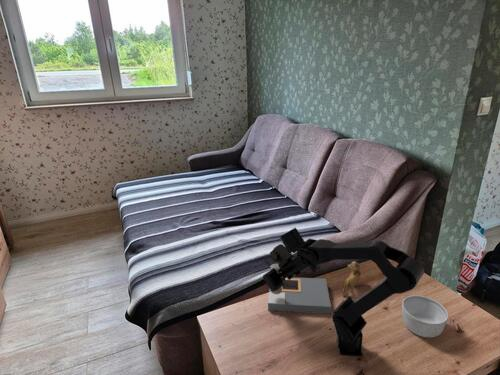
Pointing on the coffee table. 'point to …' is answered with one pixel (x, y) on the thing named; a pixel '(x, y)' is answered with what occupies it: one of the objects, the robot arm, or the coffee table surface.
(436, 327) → the ramekin
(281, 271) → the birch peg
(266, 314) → the coffee table surface
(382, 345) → the coffee table surface
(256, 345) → the coffee table surface
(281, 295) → the gray peg hole board
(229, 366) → the coffee table surface
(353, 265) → the lion figurine
